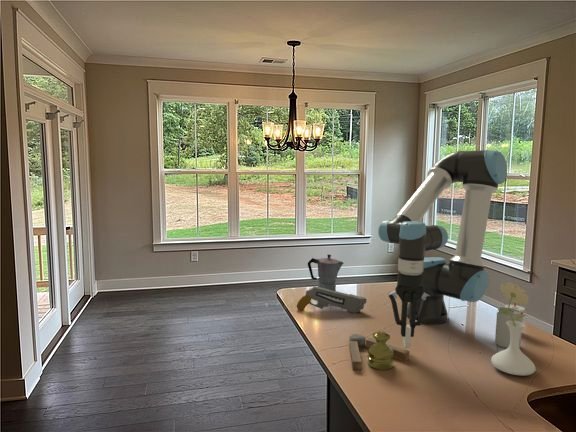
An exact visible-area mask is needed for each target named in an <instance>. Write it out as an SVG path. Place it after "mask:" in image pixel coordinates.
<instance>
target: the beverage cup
mask: <svg viewBox="0 0 576 432" xmlns="http://www.w3.org/2000/svg"><path fill="white" fill-rule="evenodd" d="M508 306H509V304H506V305H504V308H508ZM509 308H513V309H517V310H519V311H520V312H521V315H524V313H525V311H526V308H525V307H524V306H521V305H518V304H516V303H513V304H512V303H510V307H509Z"/></svg>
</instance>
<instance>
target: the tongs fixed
mask: <svg viewBox="0 0 576 432" xmlns="http://www.w3.org/2000/svg"><path fill="white" fill-rule="evenodd" d="M348 340H349V342H348V345H349V346H348V349H349V353H350V354H349V355H350V361H351V366H352V367H351V368H352V370H353V371H354V370H355V371H361V370H362V359H361V353H360V349H363V348H366V340H367V339H366V336H364V335H363V334H359V333H358V334H357V333H355V334H350V335H349V337H348Z"/></svg>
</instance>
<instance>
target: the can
mask: <svg viewBox="0 0 576 432" xmlns="http://www.w3.org/2000/svg"><path fill="white" fill-rule="evenodd" d="M504 308H505V307H504ZM505 309H506V310H508V308H505ZM509 310H510V313H511V316H512V318H514V317H516V316H518V315H521V312H520V311H519V310H517V309H513V308H509ZM511 316H510V314H508V315H505V314H504V313H502V312H500V311H497V312H496V320H495V321H496V324H495V337H494V343H496V344H497V345H498V346H499V347H500V348H502V349H504V350H505V349H507V348H508V347H509V345H510V330H509V327H508V325H507V324H506V322H507V321H512V319H511ZM523 319H524V318H523V317H522V318H519V319H513V320H514V321H518V322H522V323H524V322H523ZM522 333H523V332H521V334H520V338H519V348H520V347H521V345H522Z"/></svg>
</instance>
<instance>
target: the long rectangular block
mask: <svg viewBox="0 0 576 432" xmlns="http://www.w3.org/2000/svg"><path fill="white" fill-rule="evenodd" d="M376 342H377V341H376V339H374V338H373V337H368V338H367V339H366V342H365V348H367V349H368V348H369V347H370V346H372V345H374V344H375V343H376ZM386 344H387V345H388V346H389V347H390V348H391V349H392V350H393V351H394V355H393V359H394V358H395V359H396V360H399V361H402V362H407V361H409V360H410V350H407V349H406V348H405V349H404V348H403V347H402V348H401V347H398V346H396V345H393V344H389V343H387V342H386Z"/></svg>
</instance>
